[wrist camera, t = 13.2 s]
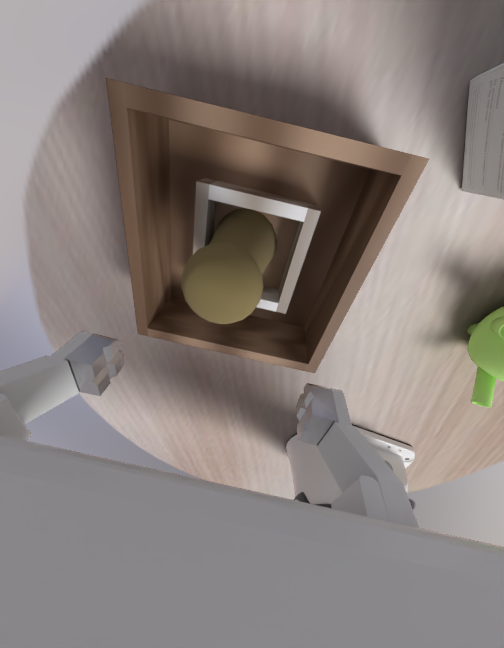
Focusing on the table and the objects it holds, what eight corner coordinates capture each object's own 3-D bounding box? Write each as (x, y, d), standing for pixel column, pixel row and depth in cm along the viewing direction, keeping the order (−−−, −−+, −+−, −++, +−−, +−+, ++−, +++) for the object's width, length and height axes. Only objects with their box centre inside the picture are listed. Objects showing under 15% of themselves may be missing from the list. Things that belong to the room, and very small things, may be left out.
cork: (208, 259, 24) (160, 318, 15) (224, 197, 21) (174, 227, 12) (262, 281, 25) (246, 350, 16) (287, 224, 21) (284, 273, 12)
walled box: (385, 157, 19) (429, 158, 13) (308, 330, 29) (314, 373, 24) (161, 101, 18) (105, 77, 13) (166, 298, 29) (137, 334, 23)
